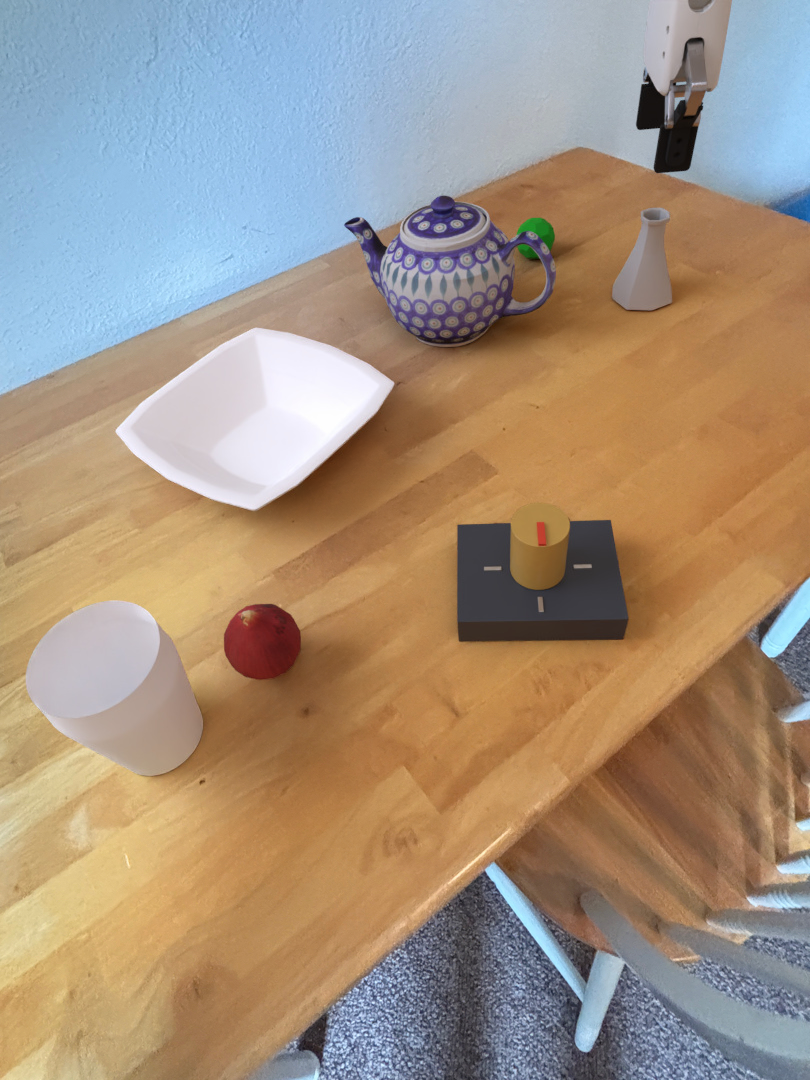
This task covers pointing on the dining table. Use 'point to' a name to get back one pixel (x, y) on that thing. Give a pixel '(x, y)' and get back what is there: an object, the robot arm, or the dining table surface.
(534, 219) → the polyhedron
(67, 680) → the cup
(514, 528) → the yellow dial knob
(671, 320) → the dining table surface
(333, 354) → the bowl
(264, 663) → the onion
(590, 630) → the panel
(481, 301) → the teapot
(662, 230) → the flask
